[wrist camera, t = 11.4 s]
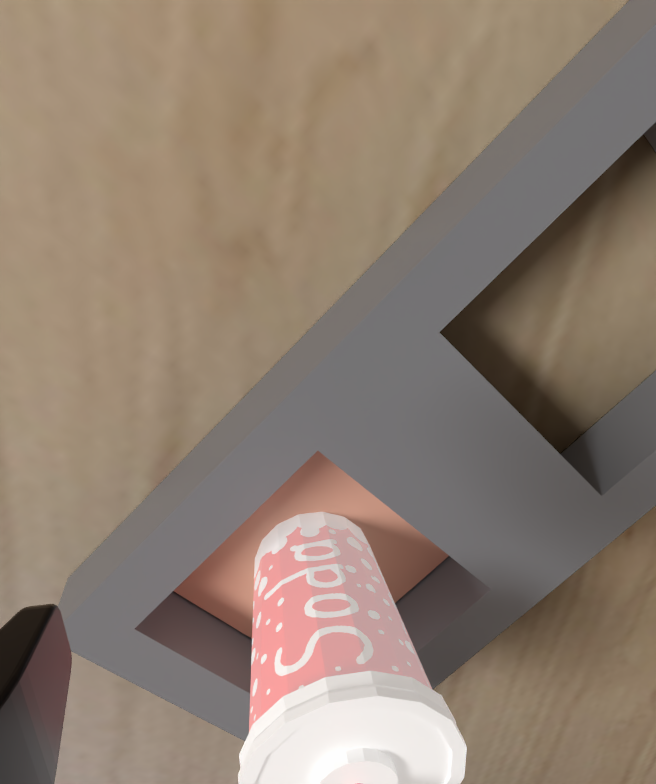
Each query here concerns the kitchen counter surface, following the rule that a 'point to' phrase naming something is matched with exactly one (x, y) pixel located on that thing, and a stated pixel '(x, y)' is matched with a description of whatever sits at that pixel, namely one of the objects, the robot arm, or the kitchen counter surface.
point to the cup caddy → (396, 433)
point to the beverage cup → (338, 670)
